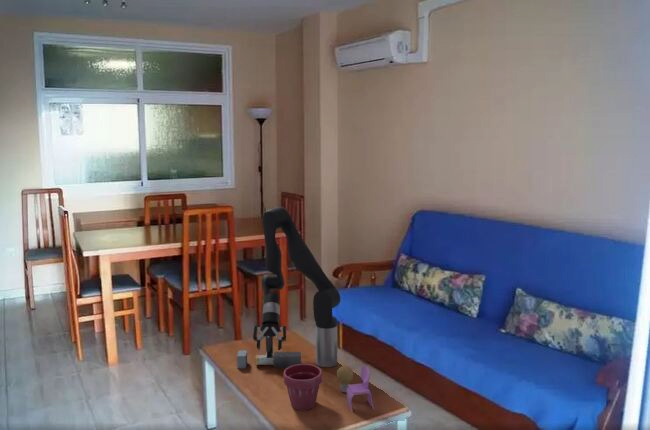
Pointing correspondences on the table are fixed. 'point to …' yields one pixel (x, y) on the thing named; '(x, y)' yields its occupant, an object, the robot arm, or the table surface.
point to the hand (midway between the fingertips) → (269, 349)
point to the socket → (242, 359)
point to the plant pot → (303, 385)
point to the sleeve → (286, 359)
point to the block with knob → (269, 355)
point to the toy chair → (360, 387)
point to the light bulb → (344, 377)
